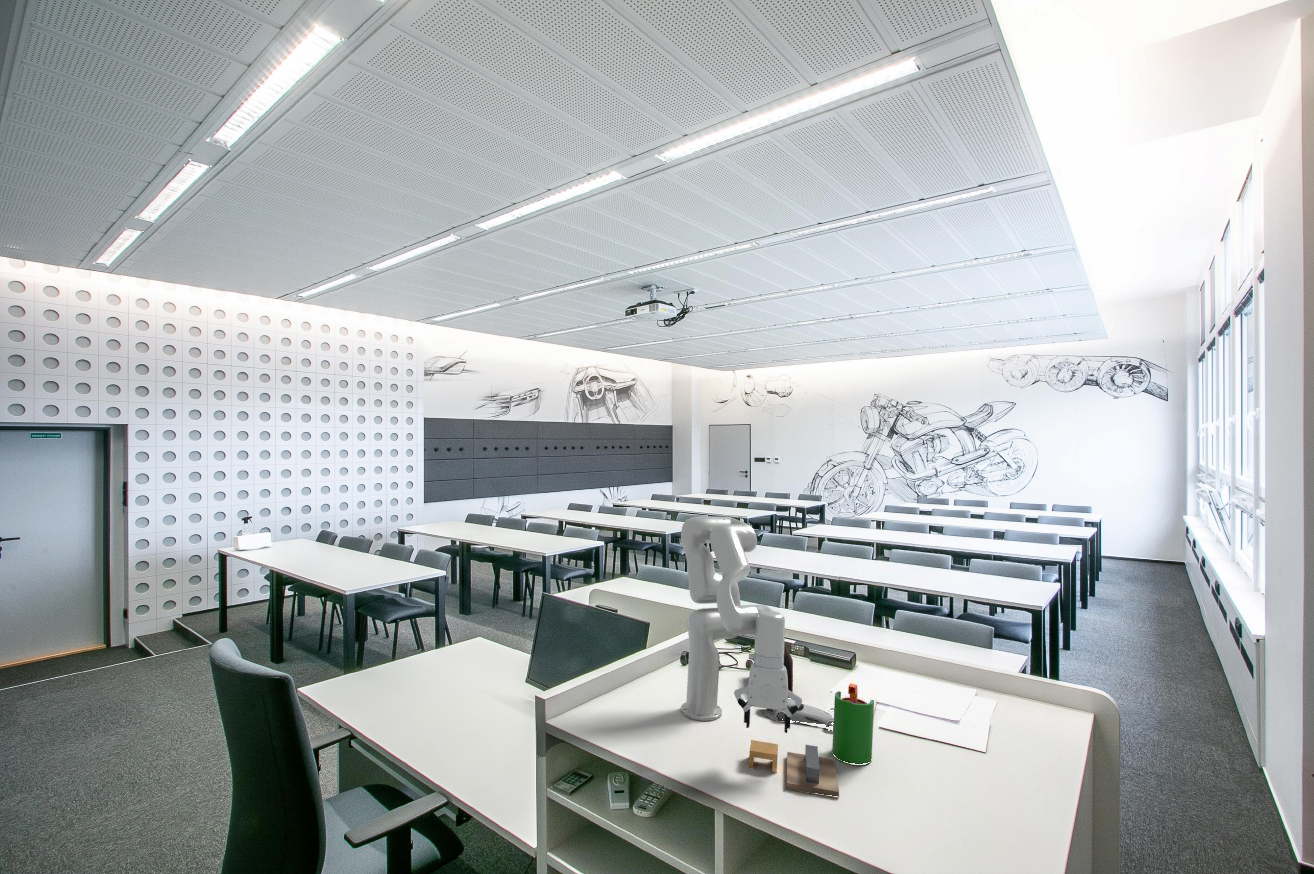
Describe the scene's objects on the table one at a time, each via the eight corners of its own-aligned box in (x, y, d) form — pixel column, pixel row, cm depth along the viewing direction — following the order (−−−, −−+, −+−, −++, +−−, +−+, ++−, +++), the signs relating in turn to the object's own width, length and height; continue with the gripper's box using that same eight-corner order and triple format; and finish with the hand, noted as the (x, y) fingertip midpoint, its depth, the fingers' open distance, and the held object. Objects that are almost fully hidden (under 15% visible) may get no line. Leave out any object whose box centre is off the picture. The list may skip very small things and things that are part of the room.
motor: (871, 754, 163) (874, 680, 164) (871, 769, 155) (875, 691, 155) (832, 746, 167) (836, 673, 167) (831, 760, 158) (834, 684, 159)
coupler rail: (804, 758, 156) (805, 744, 156) (816, 759, 155) (817, 746, 155) (806, 781, 144) (806, 767, 144) (818, 784, 143) (819, 769, 143)
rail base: (787, 757, 159) (787, 751, 159) (833, 764, 156) (834, 759, 156) (786, 789, 143) (786, 782, 143) (838, 798, 140) (839, 791, 140)
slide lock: (750, 757, 158) (751, 739, 158) (777, 761, 156) (778, 744, 156) (748, 768, 152) (749, 750, 152) (776, 773, 150) (777, 754, 150)
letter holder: (780, 678, 217) (782, 639, 218) (792, 700, 198) (794, 657, 198) (753, 676, 218) (755, 637, 218) (762, 698, 198) (764, 655, 198)
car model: (840, 735, 175) (841, 717, 175) (757, 718, 183) (758, 701, 183) (842, 720, 185) (842, 703, 185) (763, 705, 193) (764, 689, 193)
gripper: (734, 661, 153) (731, 729, 152) (803, 668, 149) (801, 739, 148) (736, 652, 160) (734, 718, 159) (802, 660, 157) (801, 727, 155)
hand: (766, 728), depth 154 cm, fingers open, 9 cm apart
